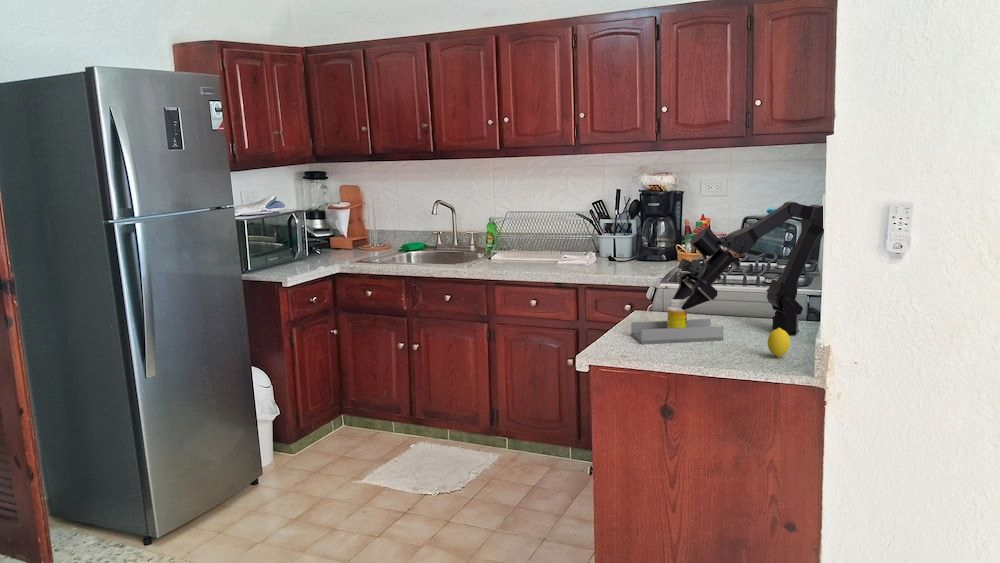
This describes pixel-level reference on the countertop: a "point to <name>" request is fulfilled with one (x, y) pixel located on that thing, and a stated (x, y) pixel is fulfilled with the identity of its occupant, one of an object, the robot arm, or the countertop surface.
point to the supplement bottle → (677, 314)
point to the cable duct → (676, 332)
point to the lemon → (778, 342)
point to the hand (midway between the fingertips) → (677, 306)
